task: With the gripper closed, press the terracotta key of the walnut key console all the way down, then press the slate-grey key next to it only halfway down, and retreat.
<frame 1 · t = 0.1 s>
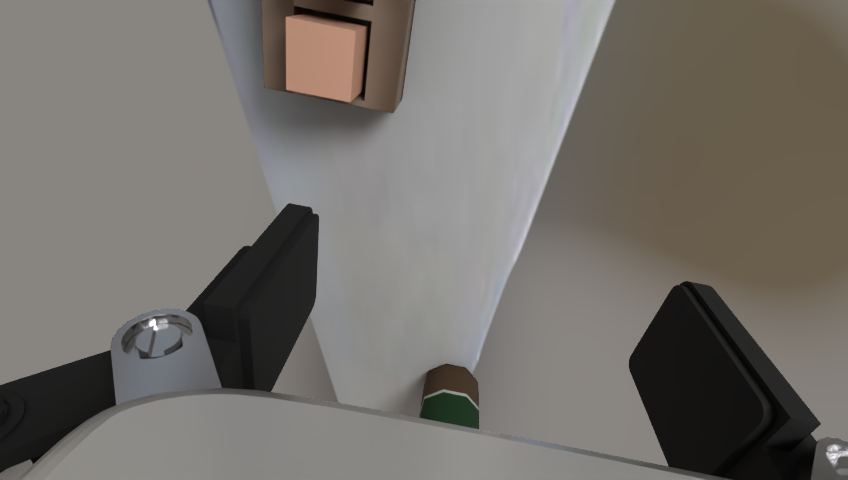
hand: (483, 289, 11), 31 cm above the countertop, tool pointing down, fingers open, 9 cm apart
terracotta key: (327, 57, 32), point 6 cm above the countertop, slide at 0.0 cm
beer bottle: (450, 380, 59), on the countertop
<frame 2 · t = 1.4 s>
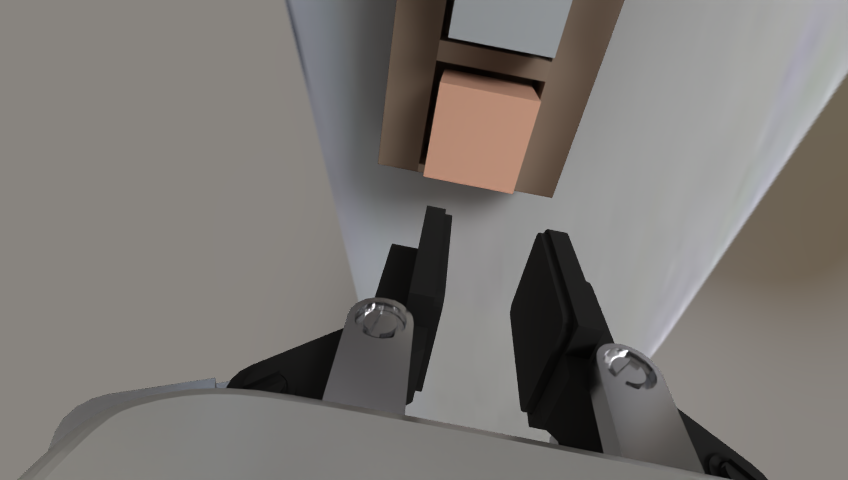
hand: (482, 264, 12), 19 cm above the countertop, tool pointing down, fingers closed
terracotta key: (478, 130, 23), point 6 cm above the countertop, slide at 0.0 cm
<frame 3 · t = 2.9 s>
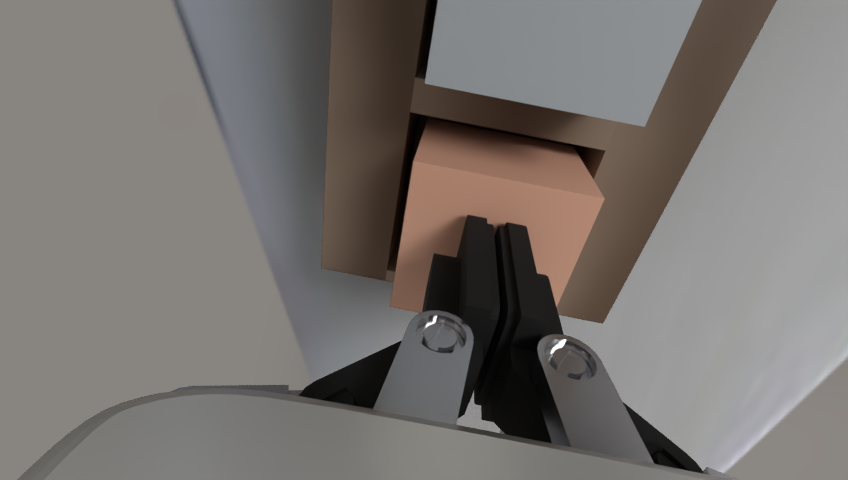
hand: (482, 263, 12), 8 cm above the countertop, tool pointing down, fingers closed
terracotta key: (484, 224, 14), point 6 cm above the countertop, slide at 0.4 cm, touching gripper
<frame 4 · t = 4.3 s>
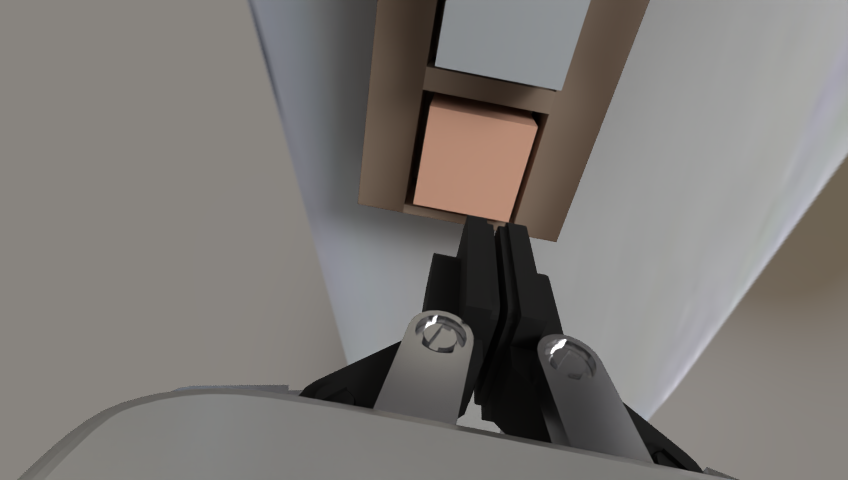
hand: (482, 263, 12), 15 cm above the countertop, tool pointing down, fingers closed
key console: (500, 3, 22), on the countertop
terracotta key: (471, 154, 22), point 4 cm above the countertop, slide at 2.1 cm
slate key: (511, 4, 17), point 6 cm above the countertop, slide at 0.0 cm
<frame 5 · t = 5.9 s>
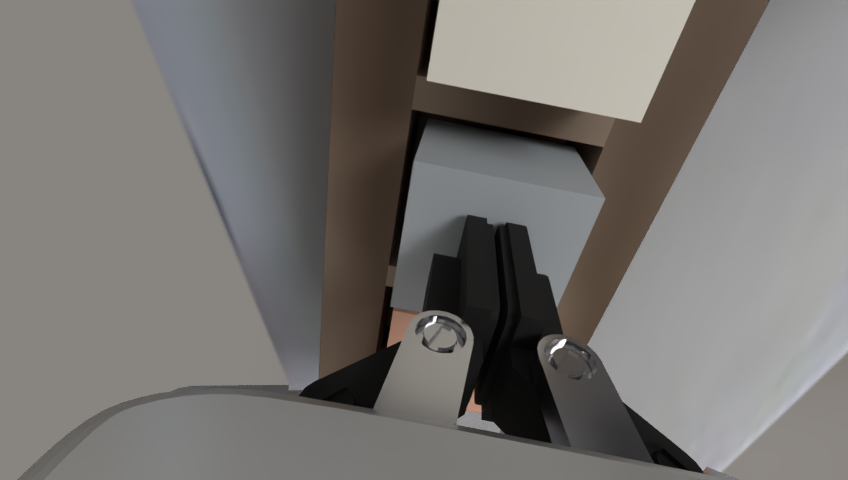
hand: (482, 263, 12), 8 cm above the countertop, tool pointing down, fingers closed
key console: (482, 160, 19), on the countertop
terracotta key: (447, 332, 19), point 4 cm above the countertop, slide at 2.1 cm
slate key: (484, 224, 14), point 6 cm above the countertop, slide at 0.1 cm, touching gripper
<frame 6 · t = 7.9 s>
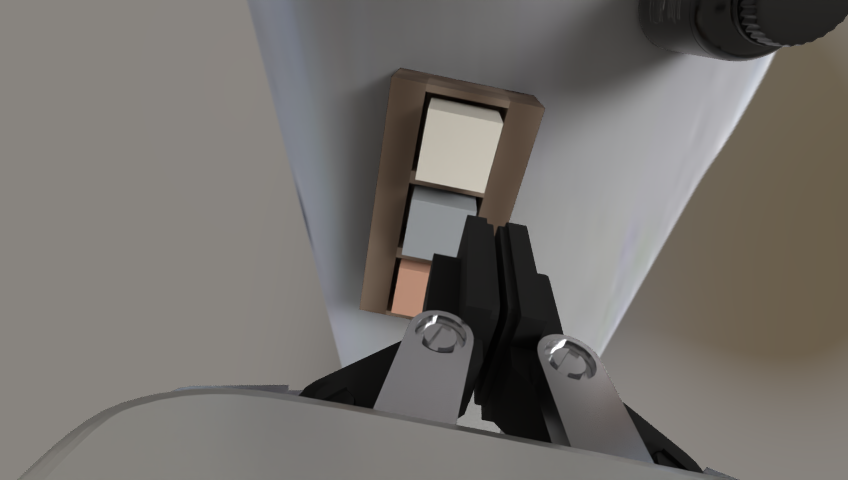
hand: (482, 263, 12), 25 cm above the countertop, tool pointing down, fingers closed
key console: (441, 199, 39), on the countertop
terracotta key: (424, 283, 39), point 4 cm above the countertop, slide at 2.1 cm
slate key: (438, 222, 35), point 5 cm above the countertop, slide at 1.0 cm
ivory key: (457, 144, 30), point 6 cm above the countertop, slide at 0.0 cm
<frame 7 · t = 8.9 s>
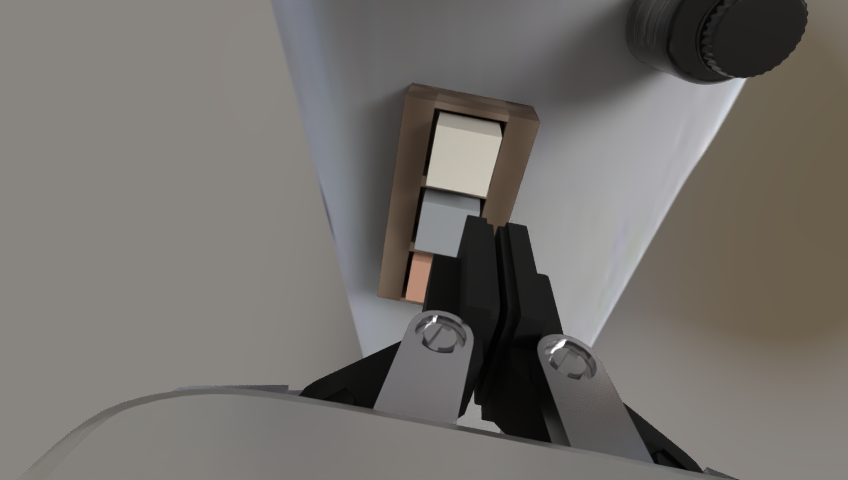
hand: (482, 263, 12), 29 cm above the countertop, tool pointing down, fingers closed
supplement bottle: (668, 19, 33), on the countertop
key console: (449, 198, 43), on the countertop
terracotta key: (434, 273, 44), point 4 cm above the countertop, slide at 2.1 cm
slate key: (447, 220, 39), point 5 cm above the countertop, slide at 1.0 cm
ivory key: (462, 153, 34), point 6 cm above the countertop, slide at 0.0 cm
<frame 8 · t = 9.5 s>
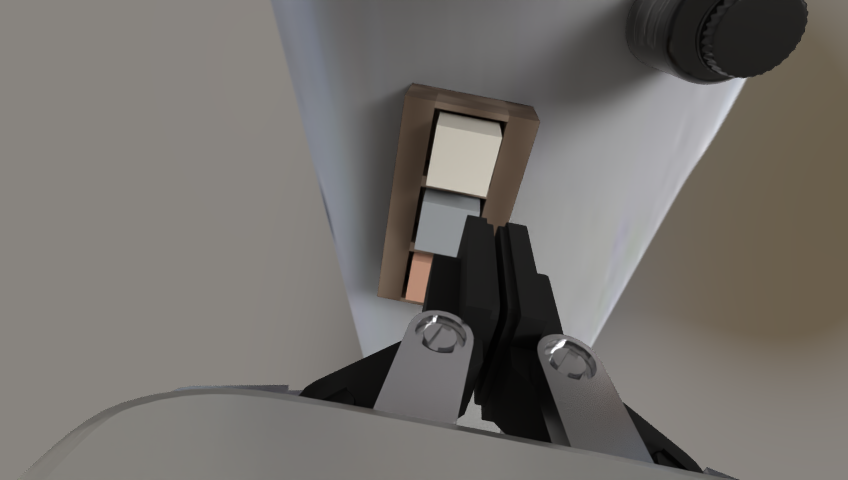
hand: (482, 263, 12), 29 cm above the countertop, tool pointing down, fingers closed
supplement bottle: (668, 19, 33), on the countertop
key console: (449, 198, 43), on the countertop
terracotta key: (434, 273, 44), point 4 cm above the countertop, slide at 2.1 cm
slate key: (447, 220, 39), point 5 cm above the countertop, slide at 1.0 cm
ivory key: (462, 153, 34), point 6 cm above the countertop, slide at 0.0 cm
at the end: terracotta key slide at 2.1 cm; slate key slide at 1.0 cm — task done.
